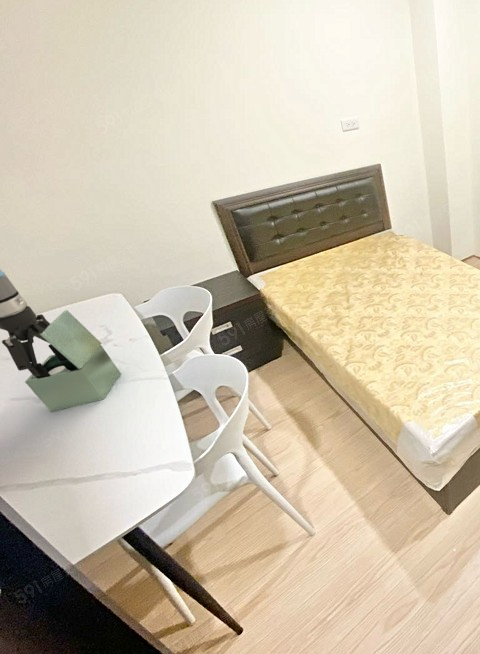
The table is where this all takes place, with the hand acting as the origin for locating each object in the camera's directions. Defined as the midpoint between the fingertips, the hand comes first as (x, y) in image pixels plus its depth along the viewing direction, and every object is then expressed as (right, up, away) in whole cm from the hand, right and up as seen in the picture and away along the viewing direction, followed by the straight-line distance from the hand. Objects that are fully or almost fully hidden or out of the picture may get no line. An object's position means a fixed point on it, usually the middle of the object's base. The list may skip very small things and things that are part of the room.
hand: (57, 370), depth 124 cm
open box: (+3, -9, +6) cm, 11 cm away
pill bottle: (0, -9, +5) cm, 10 cm away
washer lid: (+7, +10, -3) cm, 13 cm away
